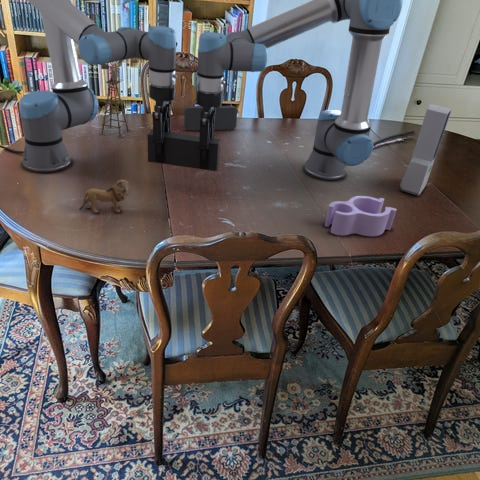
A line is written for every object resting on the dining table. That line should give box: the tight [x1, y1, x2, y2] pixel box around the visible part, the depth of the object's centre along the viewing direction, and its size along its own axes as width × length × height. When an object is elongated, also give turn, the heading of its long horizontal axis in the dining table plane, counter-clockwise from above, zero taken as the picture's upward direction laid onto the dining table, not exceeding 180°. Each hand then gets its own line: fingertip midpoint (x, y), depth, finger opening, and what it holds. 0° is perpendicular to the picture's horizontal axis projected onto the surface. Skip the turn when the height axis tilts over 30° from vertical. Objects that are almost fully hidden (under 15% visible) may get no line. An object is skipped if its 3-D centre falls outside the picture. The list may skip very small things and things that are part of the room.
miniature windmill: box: [100, 61, 130, 138], centre depth 181 cm, size 9×8×30 cm
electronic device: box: [399, 103, 452, 197], centre depth 162 cm, size 12×8×30 cm, turn 148°
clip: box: [324, 195, 398, 237], centre depth 141 cm, size 20×12×7 cm, turn 109°
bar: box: [146, 129, 222, 172], centre depth 146 cm, size 22×4×9 cm, turn 83°
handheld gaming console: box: [183, 105, 239, 132], centre depth 200 cm, size 23×3×10 cm, turn 108°
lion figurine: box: [78, 179, 131, 214], centre depth 135 cm, size 15×5×9 cm, turn 110°
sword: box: [373, 136, 412, 149], centre depth 209 cm, size 31×3×1 cm, turn 126°
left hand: (162, 158), depth 149 cm, fingers closed on bar, 4 cm apart
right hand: (205, 164), depth 148 cm, fingers closed on bar, 4 cm apart
